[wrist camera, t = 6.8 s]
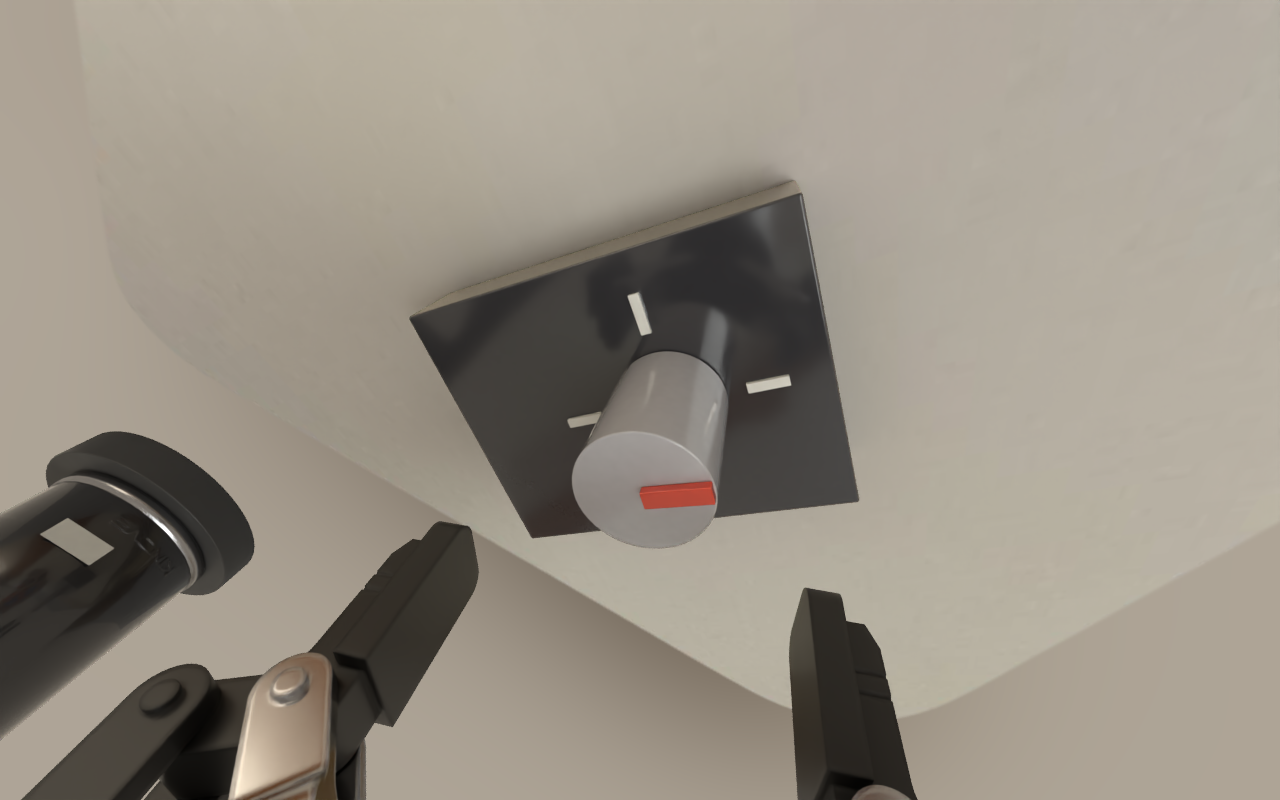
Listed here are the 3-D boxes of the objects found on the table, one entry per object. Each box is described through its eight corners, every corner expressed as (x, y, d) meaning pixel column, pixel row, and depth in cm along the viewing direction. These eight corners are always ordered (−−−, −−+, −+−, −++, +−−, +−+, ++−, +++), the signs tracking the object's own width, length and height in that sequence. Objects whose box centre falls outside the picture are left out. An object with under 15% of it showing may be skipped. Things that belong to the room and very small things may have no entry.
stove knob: (633, 454, 19) (593, 559, 15) (602, 360, 17) (546, 447, 13) (738, 443, 18) (729, 554, 13) (716, 341, 16) (698, 429, 12)
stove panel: (554, 496, 25) (530, 541, 23) (450, 292, 21) (404, 319, 18) (847, 454, 21) (860, 505, 18) (796, 179, 16) (802, 192, 13)
